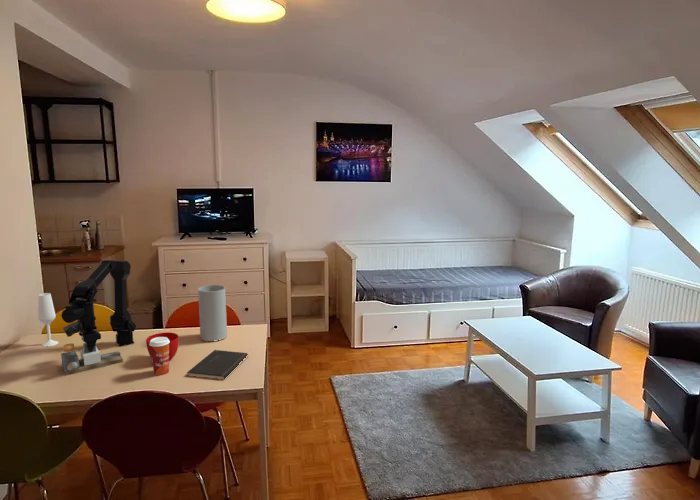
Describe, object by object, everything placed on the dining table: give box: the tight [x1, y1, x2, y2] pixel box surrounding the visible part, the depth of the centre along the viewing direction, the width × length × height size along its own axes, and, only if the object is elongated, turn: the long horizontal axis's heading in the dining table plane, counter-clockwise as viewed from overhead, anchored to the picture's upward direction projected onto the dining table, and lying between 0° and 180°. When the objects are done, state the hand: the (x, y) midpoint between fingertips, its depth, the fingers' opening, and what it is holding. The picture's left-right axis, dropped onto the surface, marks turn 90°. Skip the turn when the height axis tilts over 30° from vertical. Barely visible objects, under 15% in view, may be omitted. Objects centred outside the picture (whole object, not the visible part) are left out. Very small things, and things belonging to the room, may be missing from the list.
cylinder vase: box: [197, 284, 228, 342], centre depth 221 cm, size 12×12×25 cm
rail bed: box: [60, 350, 124, 376], centre depth 191 cm, size 21×10×6 cm, turn 129°
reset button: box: [62, 343, 75, 353], centre depth 185 cm, size 4×4×2 cm
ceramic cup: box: [145, 332, 180, 362], centre depth 198 cm, size 13×17×10 cm
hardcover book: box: [186, 349, 249, 380], centre depth 192 cm, size 16×23×2 cm
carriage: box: [79, 342, 101, 366], centre depth 190 cm, size 6×8×8 cm
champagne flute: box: [37, 292, 59, 348], centre depth 211 cm, size 7×7×24 cm
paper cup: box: [149, 337, 170, 376], centre depth 184 cm, size 8×8×14 cm
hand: (90, 350), depth 190 cm, fingers closed on carriage, 3 cm apart
